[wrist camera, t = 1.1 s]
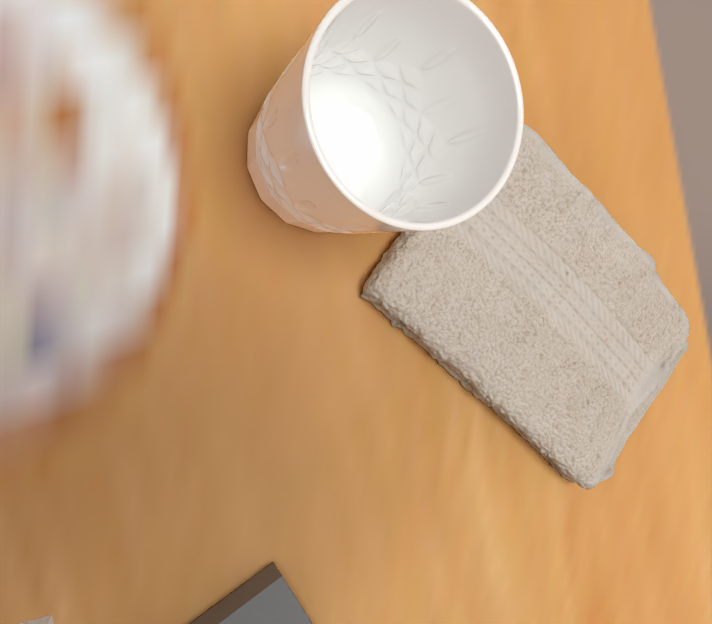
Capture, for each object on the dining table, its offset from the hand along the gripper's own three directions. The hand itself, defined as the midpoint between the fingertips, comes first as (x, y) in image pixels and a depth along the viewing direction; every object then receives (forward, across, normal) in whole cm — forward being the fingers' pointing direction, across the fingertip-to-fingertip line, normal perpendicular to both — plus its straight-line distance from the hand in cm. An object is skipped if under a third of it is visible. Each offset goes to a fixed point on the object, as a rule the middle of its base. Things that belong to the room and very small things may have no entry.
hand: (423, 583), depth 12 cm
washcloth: (+22, +11, -2) cm, 25 cm away
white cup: (+20, +1, +8) cm, 22 cm away
